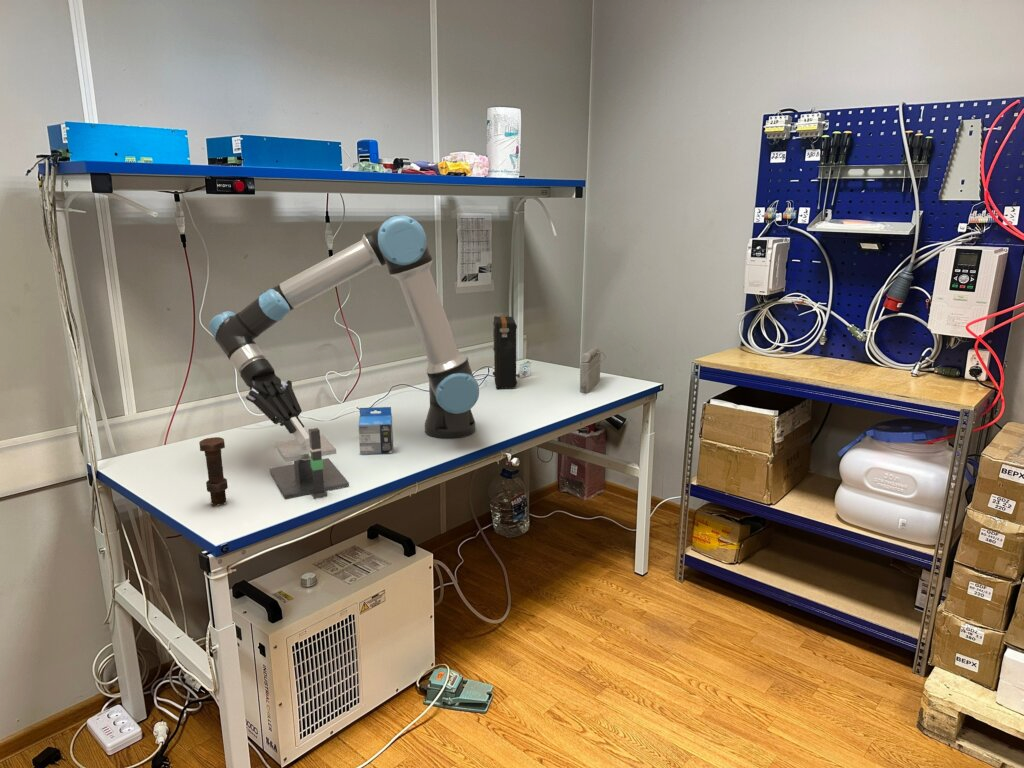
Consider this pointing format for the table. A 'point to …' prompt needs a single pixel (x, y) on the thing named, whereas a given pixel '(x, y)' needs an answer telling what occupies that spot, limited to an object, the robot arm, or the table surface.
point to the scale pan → (302, 449)
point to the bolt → (215, 469)
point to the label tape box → (375, 430)
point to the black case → (504, 352)
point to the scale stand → (309, 473)
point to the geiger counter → (590, 369)
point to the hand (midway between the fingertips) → (305, 441)
